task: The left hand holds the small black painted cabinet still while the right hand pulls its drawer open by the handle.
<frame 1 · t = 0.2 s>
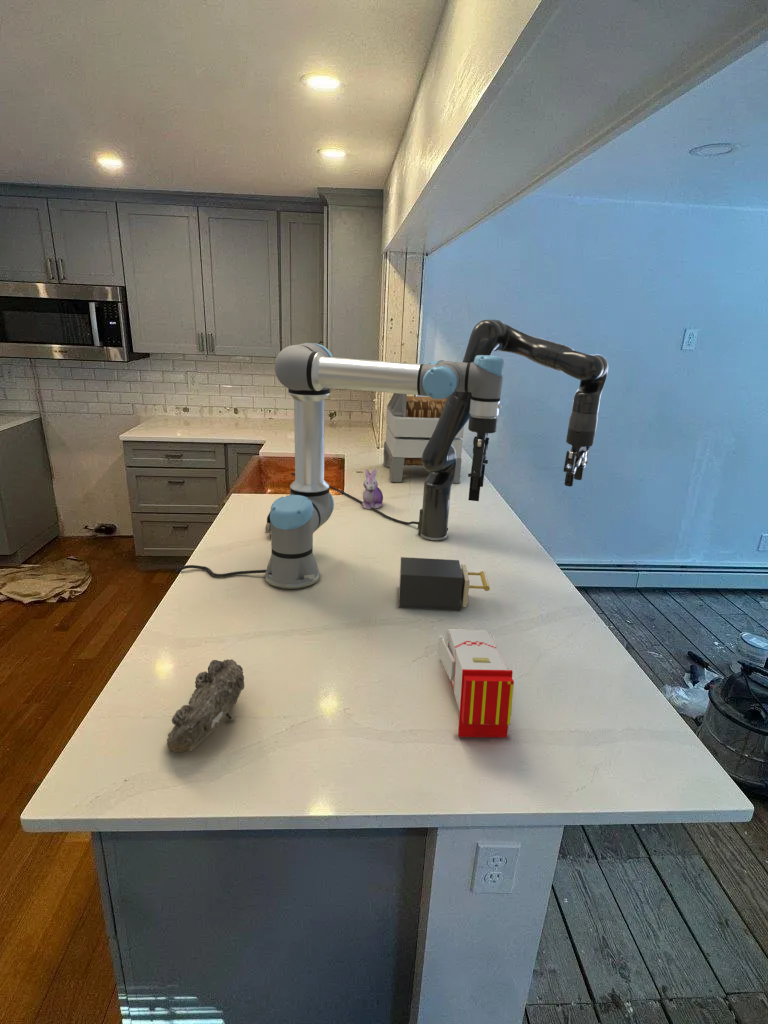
left hand: (475, 493, 156), 28 cm above the counter, tool pointing down, fingers open, 13 cm apart
right hand: (573, 482, 165), 29 cm above the counter, tool pointing down, fingers open, 8 cm apart
toy: (469, 691, 119), on the counter
figurine: (372, 506, 226), on the counter
transformer: (419, 473, 275), on the counter
fossil: (212, 717, 108), on the counter
cabinet: (428, 599, 156), on the counter
drawer: (449, 584, 154), point 5 cm above the counter, slide at 0.7 cm
figurine character: (278, 532, 197), on the counter
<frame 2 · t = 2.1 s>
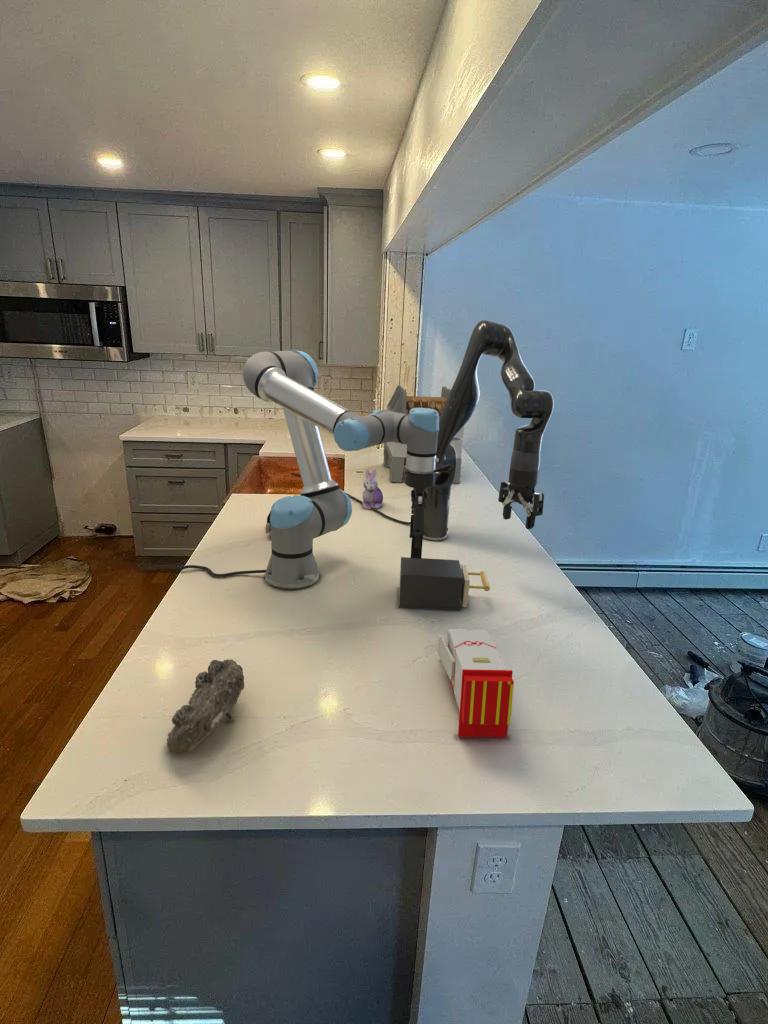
left hand: (415, 547, 151), 15 cm above the counter, tool pointing down, fingers open, 13 cm apart
right hand: (517, 523, 156), 21 cm above the counter, tool pointing down, fingers open, 8 cm apart
nothing on the counter moved.
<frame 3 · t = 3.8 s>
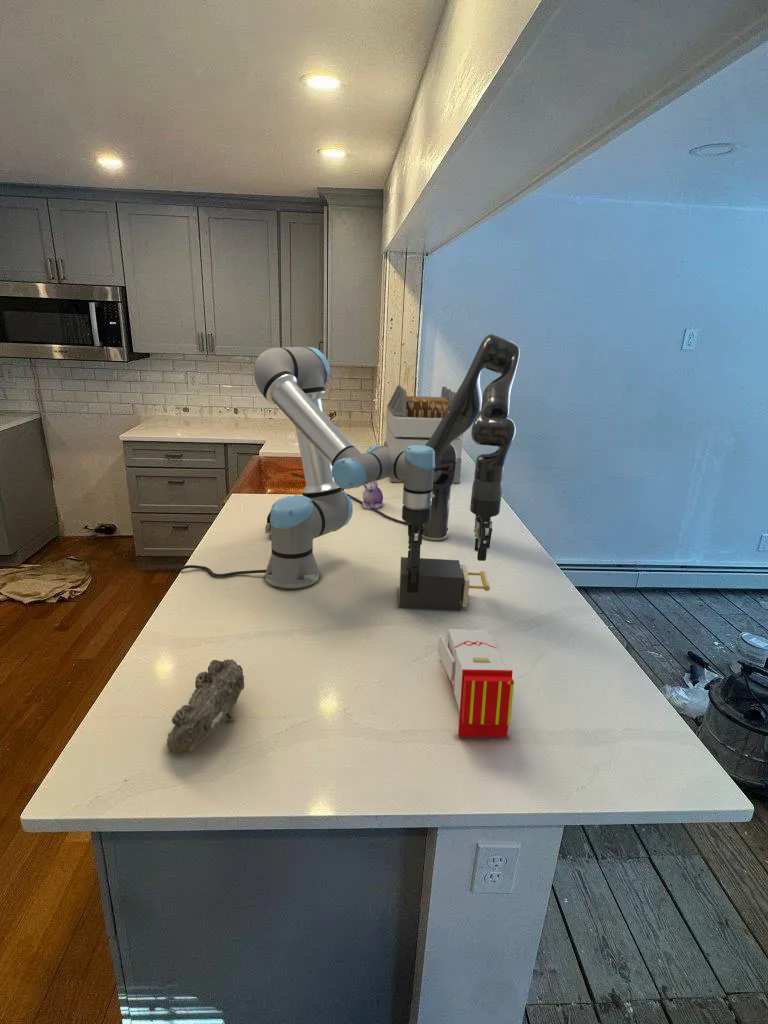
left hand: (412, 581, 154), 5 cm above the counter, tool pointing down, fingers closed on cabinet, 11 cm apart
right hand: (479, 555, 151), 14 cm above the counter, tool pointing down, fingers open, 5 cm apart
cabinet: (428, 599, 156), on the counter, touching left hand
everything else where it was.
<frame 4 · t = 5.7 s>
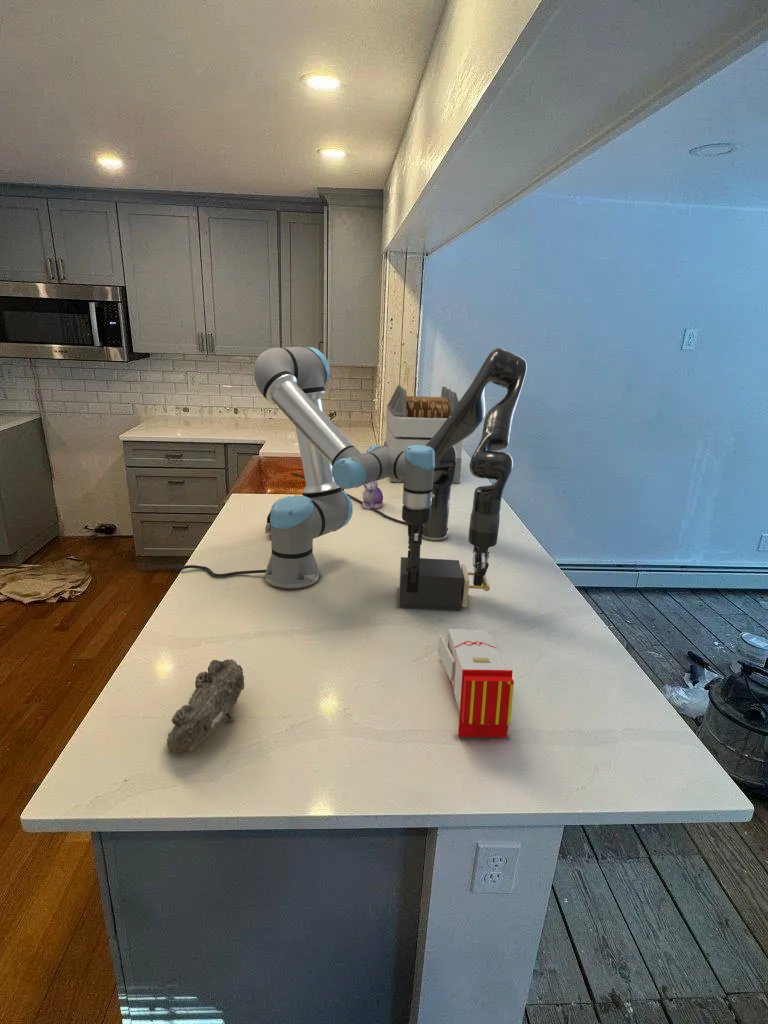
left hand: (411, 581, 154), 5 cm above the counter, tool pointing down, fingers closed on cabinet, 11 cm apart
right hand: (477, 585, 154), 5 cm above the counter, tool pointing down, fingers closed
cabinet: (428, 599, 156), on the counter, touching left hand
drawer: (448, 584, 154), point 5 cm above the counter, slide at 0.7 cm, touching right hand
everything else where it was.
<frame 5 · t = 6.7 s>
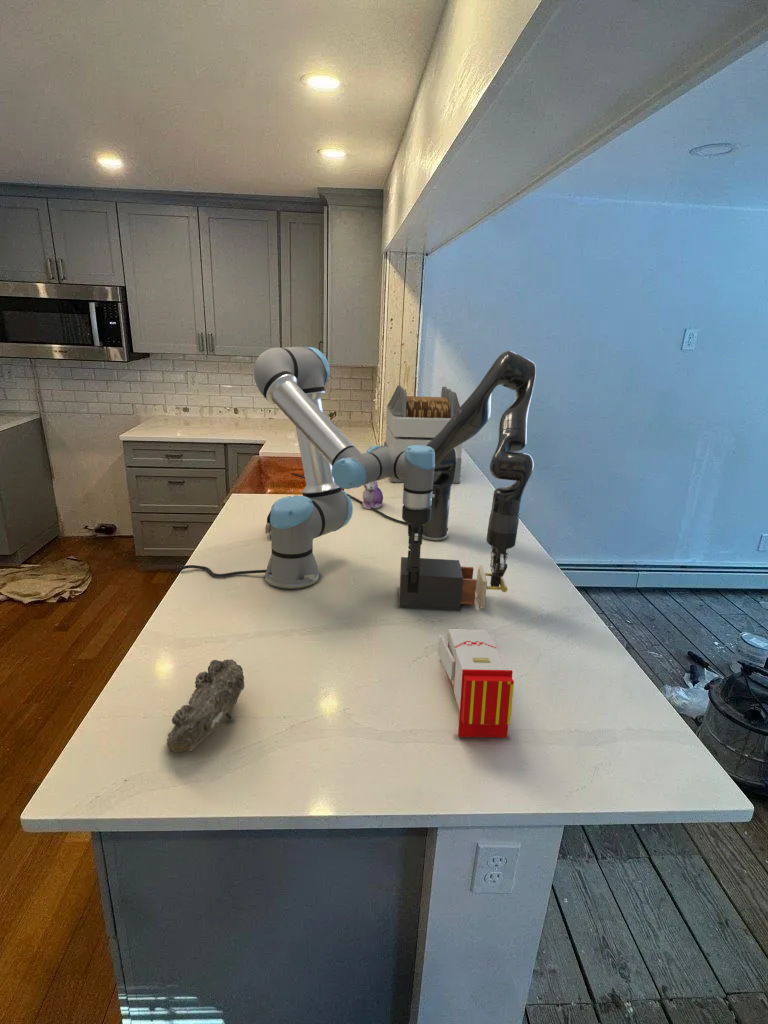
left hand: (412, 581, 154), 5 cm above the counter, tool pointing down, fingers closed on cabinet, 11 cm apart
right hand: (494, 586, 154), 5 cm above the counter, tool pointing down, fingers closed
cabinet: (428, 599, 156), on the counter, touching left hand
drawer: (466, 585, 154), point 5 cm above the counter, slide at 5.3 cm, touching right hand
everything else where it was.
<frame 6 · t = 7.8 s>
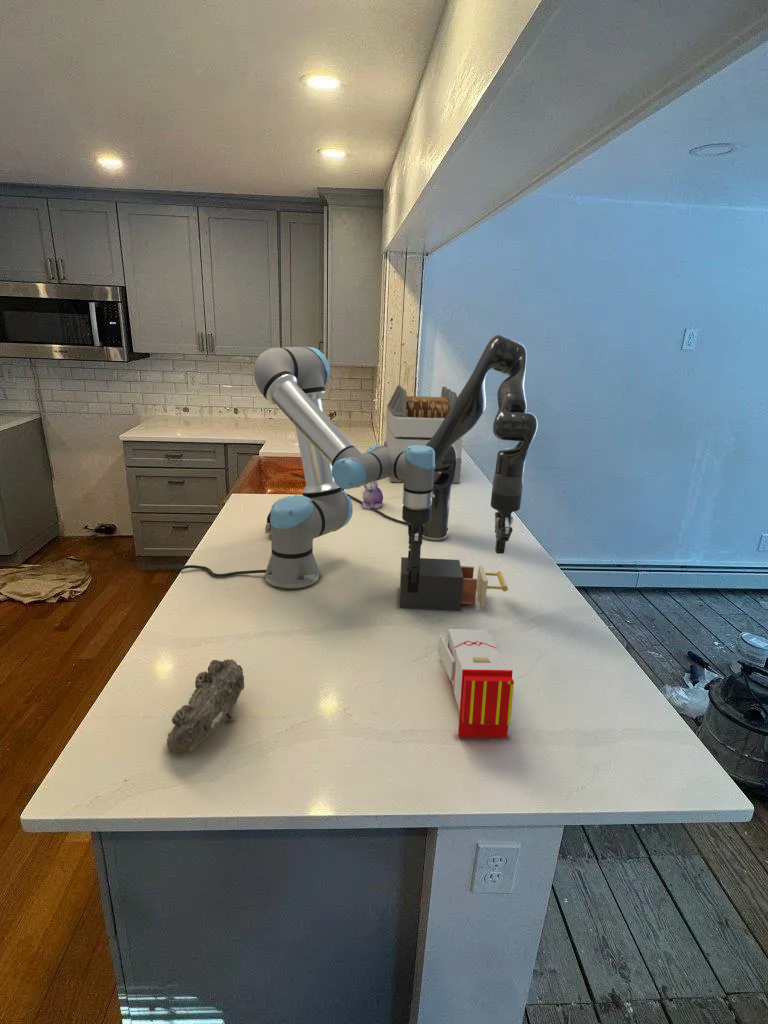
left hand: (412, 581, 154), 5 cm above the counter, tool pointing down, fingers closed on cabinet, 11 cm apart
right hand: (499, 552, 150), 15 cm above the counter, tool pointing down, fingers closed
cabinet: (428, 599, 156), on the counter, touching left hand
drawer: (466, 584, 154), point 5 cm above the counter, slide at 5.3 cm
everything else where it was.
when the left hand's fingers open (5 cm above the counter, at t = 8.5 s): cabinet stays where it is, on the counter.
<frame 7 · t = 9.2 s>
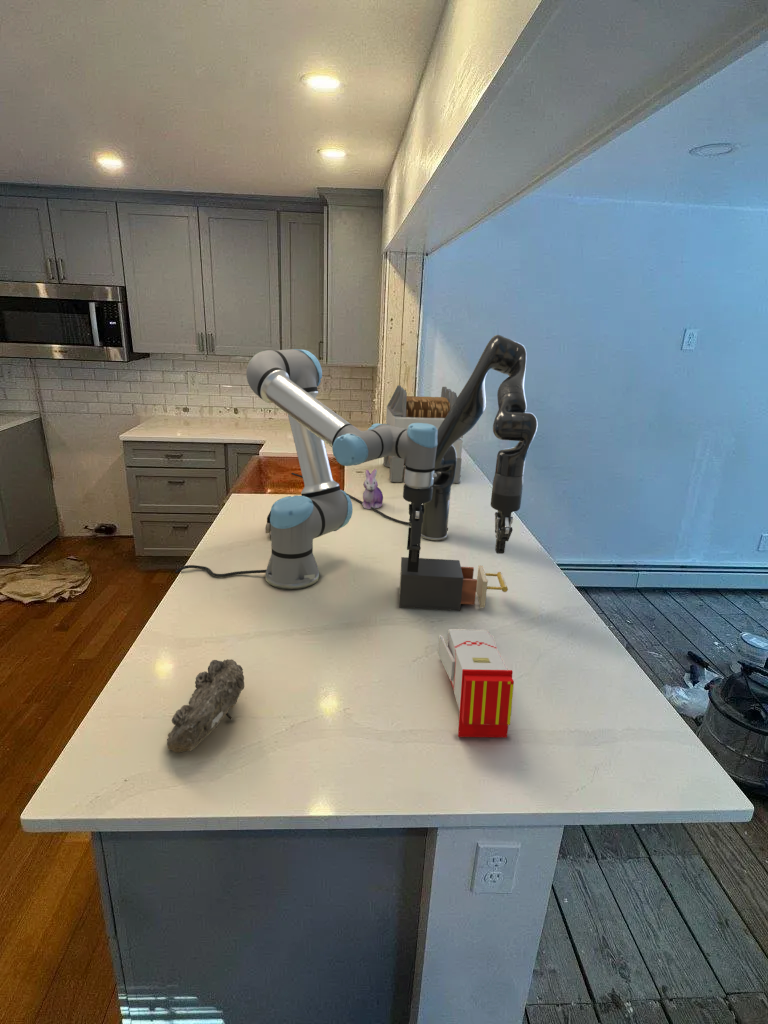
left hand: (412, 560, 152), 11 cm above the counter, tool pointing down, fingers open, 13 cm apart
right hand: (499, 552, 150), 15 cm above the counter, tool pointing down, fingers closed
cabinet: (428, 599, 156), on the counter
everything else where it was.
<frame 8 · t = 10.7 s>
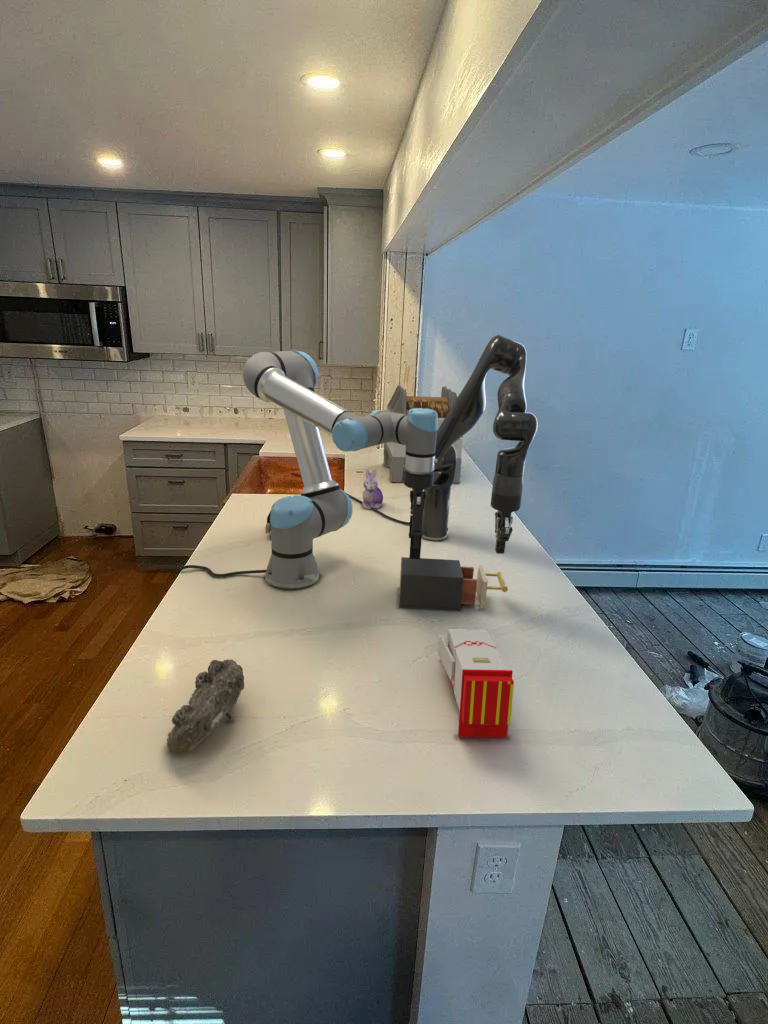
left hand: (414, 547, 151), 15 cm above the counter, tool pointing down, fingers open, 13 cm apart
right hand: (499, 552, 150), 15 cm above the counter, tool pointing down, fingers closed
nothing on the counter moved.
at the end: drawer slide at 5.3 cm; cabinet tilted 0°; cabinet never tilted more than 1° during the clip; cabinet moved 0.1 cm from its start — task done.
